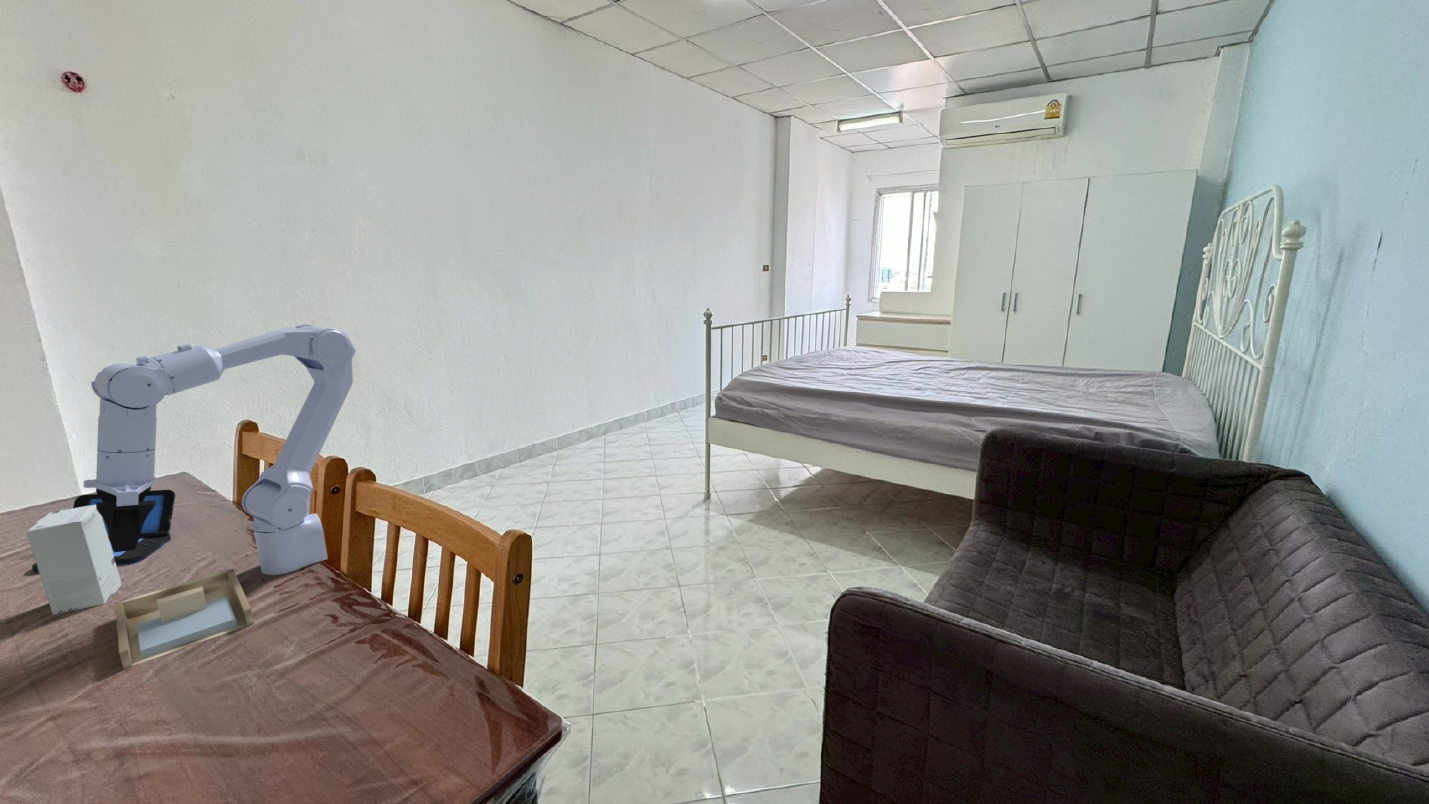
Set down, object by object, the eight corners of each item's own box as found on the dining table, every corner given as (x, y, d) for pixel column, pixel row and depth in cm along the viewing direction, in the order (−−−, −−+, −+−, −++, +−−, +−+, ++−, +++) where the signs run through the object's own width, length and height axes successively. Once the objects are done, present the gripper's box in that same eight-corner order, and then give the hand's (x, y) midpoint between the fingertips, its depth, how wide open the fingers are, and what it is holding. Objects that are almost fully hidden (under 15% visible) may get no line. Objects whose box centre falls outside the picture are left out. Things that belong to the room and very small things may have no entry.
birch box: (236, 587, 94) (233, 568, 93) (255, 628, 84) (251, 608, 83) (120, 623, 85) (114, 602, 84) (125, 675, 74) (119, 652, 73)
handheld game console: (28, 575, 97) (13, 526, 95) (87, 539, 109) (75, 494, 107) (141, 564, 101) (129, 516, 99) (185, 530, 114) (176, 487, 111)
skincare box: (107, 609, 88) (83, 521, 84) (50, 621, 85) (23, 531, 81) (123, 583, 95) (102, 501, 91) (70, 594, 91) (47, 509, 88)
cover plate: (228, 603, 88) (223, 579, 87) (237, 625, 83) (232, 600, 82) (138, 631, 81) (132, 606, 80) (142, 658, 76) (135, 631, 75)
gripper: (85, 440, 82) (82, 531, 83) (84, 461, 72) (80, 563, 73) (153, 439, 87) (150, 524, 88) (161, 458, 77) (157, 554, 78)
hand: (123, 542), depth 81 cm, fingers open, 7 cm apart
